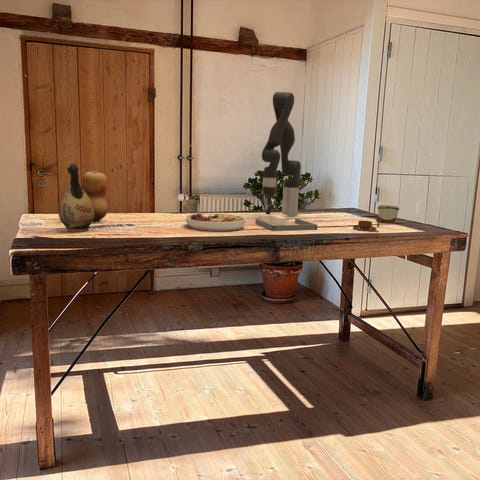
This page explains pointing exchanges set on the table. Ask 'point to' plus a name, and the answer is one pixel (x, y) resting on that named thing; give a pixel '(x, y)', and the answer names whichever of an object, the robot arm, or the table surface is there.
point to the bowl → (215, 222)
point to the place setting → (367, 225)
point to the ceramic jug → (76, 205)
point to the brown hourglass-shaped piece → (96, 192)
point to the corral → (302, 225)
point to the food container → (388, 214)
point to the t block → (274, 218)
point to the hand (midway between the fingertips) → (267, 216)
